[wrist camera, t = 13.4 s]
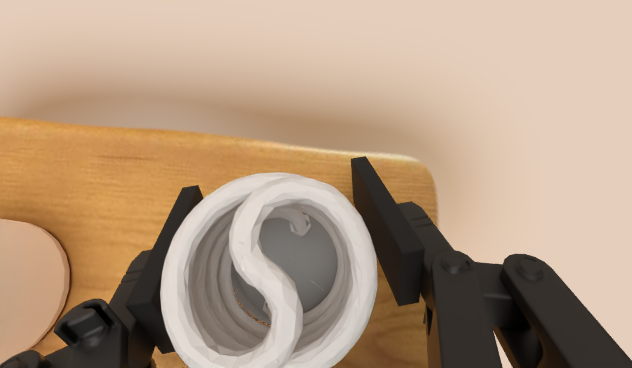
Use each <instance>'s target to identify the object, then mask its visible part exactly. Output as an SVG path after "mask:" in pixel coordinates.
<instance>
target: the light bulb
mask: <svg viewBox="0 0 632 368" xmlns="http://www.w3.org/2000/svg"><path fill="white" fill-rule="evenodd" d="M233 289H234V292H235V294H236V296H235V294H234V292H233ZM376 293H377V258H376V254H375V249H374V246H373V243H372V240H371V236H370V234H369V232H368V229H367V227H366V225H365V223H364V221H363V219H362V217H361V215H360V214H359V213H358V212H357V210H356V209H355V208H354V207H353V205H352V204H351V203H350V202H349V200H348V199H347V198H346V197H345V196H344V195H343V194H342V193H340V192H339V191H338V190H337V189H335V188H334V187H333V186H331V185H328V184H326V183H323V182H320V181H318V180H315V179H311V178H306V177H304V176H301V175H298V174H291V173H282V172H274V173H257V174H253V175H249V176H246V177H242V178H238V179H235V180H233V181H231V182H229V183H227V184H224V185H223V186H221V187H220V188H218V189H217V190H215V191H214V192H212V193H211V194H209V195H208V196H206V197H205V198H204V199H203V200H202V201H201V202H200V203H199V204H198V205H197V206H195V207H194V208H193V210H192V211H191V212H190V213H189V214H188V216H187V217H186V218H185V219H184V221H183V222H182V224H181V226H180V227H179V229H178V230H177V232H176V234H175V235H174V237H173V239H172V242H171V245H170V247H169V250H168V253H167V255H166V258H165V261H164V266H163V271H162V280H161V290H160V298H161V310H162V315H163V319H164V323H165V327H166V330H167V333H168V335H169V337H170V340H171V342H172V344H173V347H174V349H175V351H176V353H177V354H178V355H179V356H180V358H181V359H182V360H183V361H184V362H185V364H186V365H187V366H188V367H189V368H331V367H333V366H334V365H335V364H336V363H338V362H339V361H340V360H341V359H343V358H344V357H345V355H346V354H347V353H348V352H349V351H350V349H351V348H352V347H353V346H354V345H355V343H356V342H357V341H358V340H359V338H360V337H361V335H362V333H363V331H364V330H365V328H366V326H367V324H368V322H369V319H370V315H371V312H372V309H373V306H374V303H375V298H376ZM236 297H237V298H238V300H239V301H240V303H241V304H242V306H243V307H244V309H245V310H246V311H247V312H249V313H250V314H251V315H253V316H254V317H255V318H256V319H258V320H259V321H262V322H264V323H267V324H269V325H271V327H269V326H266V325H264V324H261V323H258V322H257V321H256V320H254V319H253V318H252V317H250V316H249V315H248V314H247V313H246V312H245V311H244V309H243V308H242V307H241V306H240V304H239V302H238V300H237V298H236Z"/></svg>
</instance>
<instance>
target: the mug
mask: <svg viewBox="0 0 632 368" xmlns="http://www.w3.org/2000/svg"><path fill="white" fill-rule="evenodd" d="M69 283H70V268H69V264H68V260H67V256H66V253H65V252H64V250H63V249H62V247H61V245H60V244H59V242H58V241H57V240H56V239H55V238H54V237H53V236H52V235H51V234H49V233H48V232H47V231H46V230H45V229H43V228H41V227H38V226H36V225H34V224H31V223H27V222H20V221H13V220H6V219H0V364H2V363H3V362H5V361H6V360H8V359H9V358H11V357H12V356H14V355H16V354H19V353H21V352H23V351H27V350H29V349H30V348H31V347H33V346H34V345H35V344H37V343H38V342H39V341H40V340H41V339H42V337H43V336H44V335H45V334H46V333H47V332H48V330H49V329H50V328H51V327H52V326H53V325H54V323H55V322H56V320H57V318H58V316H59V314H60V313H61V311H62V309H63V307H64V305H65V301H66V298H67V294H68V291H69Z"/></svg>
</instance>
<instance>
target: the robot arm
mask: <svg viewBox="0 0 632 368" xmlns="http://www.w3.org/2000/svg"><path fill="white" fill-rule="evenodd" d="M351 167H352V184H353V200H354V204H355V207H356V209H357V211H358V213H359V214H360V215H361V217H362V219H363V221H364V223H365V225H366V227H367V229H368V232H369V234H370V236H371V240H372V243H373V246H374V249H375V253H376V255H377V258H378V260H379V262H380V264H381V267H382V269H383V271H384V274H385V276H386V278H387V281H388V283H389V285H390V288H391V290H392V292H393V295H394V297H395V299H396V301H397V304H398V306H403V305H408V304H413V303H418V302H419V297H420V293H421V295H422V297H423V299H424V301H425V303H426V307H425V314H424V321H423V323H424V324H426V336H427V352H428V368H502V364H501V360H500V356H499V352H498V348H497V344H496V340H495V336H494V333H495V335H496V337H497V339H498V340H499V342H500V344H501V346H502V348H503V350H504V352H505V354H506V356H507V358H508V360H509V362H510V363H511V365H512V367H513V368H632V360H631V359H630V358H629V357H628V356H627V355H626V354H625V352H624V351H623V350H622V349H621V348H620V347H619V345H618V344H617V343H616V342H615V341H614V340H613V339H612V337H611V336H610V335H609V334H608V333H607V332H606V330H605V329H604V328H603V327H602V326H601V325H600V323H599V322H598V321H597V320H596V319H595V318H594V317H593V315H592V314H591V313H590V312H589V311H588V310H587V308H586V307H585V306H584V305H583V304H582V303H581V302H580V300H579V299H578V298H577V297H576V296H575V295H574V293H573V292H572V291H571V290H570V289H569V288H568V287H567V285H566V284H565V283H564V282H563V281H562V280H561V278H560V277H559V276H558V275H557V274H556V273H555V272H554V270H553V269H552V268H551V267H550V266H548V265H547V264H546V263H545V262H544V261H542V260H539V259H538V258H536V257H533V256H530V255H526V254H513V255H509V256H508V257H507V258H506V259H505V260H504V263H503V264H489V263H478V262H474V261H473V260H472V259H471V258H470V257H469V256H468V255H466V254H464V253H462V252H459V251H455V250H454V249H453V248H452V247H451V246H450V245H449V243H448V242H447V240H446V239H445V238H444V236H443V235H442V234H441V232H440V231H439V230H438V228H437V227H436V226H435V225H434V224H433V222H432V221H431V219H430V218H428V215H427V214H426V213H425V211H424V210H423V209H422V208H421V207H420V206H418V205H416V204H415V203H413V202H412V201H411V202H406V203H400V204H396V202H395V201H394V199H393V198H392V196H391V195H390V193H389V192H388V190H387V188H386V187H385V185H384V184H383V182H382V181H381V179H380V178H379V176H378V175H377V173H376V172H375V170H374V168H373V167H372V165H371V164H370V162H369V161H368V159H367V158H366V156H365V157H359V158H353V159H351ZM203 199H204V198H203V196H202V193H201V191H200V189H199V186H198V185H196V186H190V187H184V188H182V190H181V192H180V194H179V196H178V198H177V200H176V202H175V204H174V206H173V208H172V210H171V212H170V214H169V217H168V219H167V221H166V223H165V225H164V227H163V229H162V231H161V233H160V235H159V237H158V239H157V241H156V243H155V245H154V247H153V249H152V250H147V251H142V252H141V253H140V254H139V255H138V256H137V257H136V258H135V259H134V260H133V261H132V263H131V264H130V266H129V268H128V270H127V272H126V275H124V277H123V279H122V281H121V284H119V286H118V288H117V290H116V292H115V294H114V295H113V297H112V299H111V301H110V303H109V305H108V304H107V303H106V301H104V300H102V299H91V300H88V301H85V302H83V303H81V304H79V305H77V306H76V307H74V308H72V309H71V310H70V311H69V312H67V313H66V314H65V315H64V316H63V317H62V318H61V319H60V321H59V322H58V323H57V325H56V327H55V329H54V331H53V332H54V333H55V334H56V335H58V336H59V337H60V338H61V339H62V340H63V341H64V342H65V343H66V344H67V345H68V346H66V347H64V348H62V349H60V350H58V351H55V352H53V353H51V354H49V355H47V356H44V357H43V356H42V355H41V354H40V353H39V352H37V351H34V350H29V351H23V352H21V353H19V354H16V355H14V356H12V357H11V358H9V359H8V360H6V361H5V362H3V363H2V364H0V368H156V364H155V361H154V359H153V358H152V354H153V351H154V348H155V345H156V346H157V348H158V349H159V350H160V352H161V353H162V354H165V353H170V352H175V349H174V347H173V344H172V342H171V340H170V337H169V335H168V333H167V330H166V327H165V323H164V319H163V315H162V310H161V298H160V290H161V280H162V271H163V266H164V261H165V258H166V255H167V253H168V250H169V247H170V245H171V242H172V239H173V237H174V235H175V234H176V232H177V230H178V229H179V227H180V226H181V224H182V222H183V221H184V219H185V218H186V217H187V216H188V214H189V213H190V212H191V211H192V210H193V208H194V207H195V206H197V205H198V204H199V203H200V202H201V201H202V200H203ZM493 331H494V332H493Z"/></svg>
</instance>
